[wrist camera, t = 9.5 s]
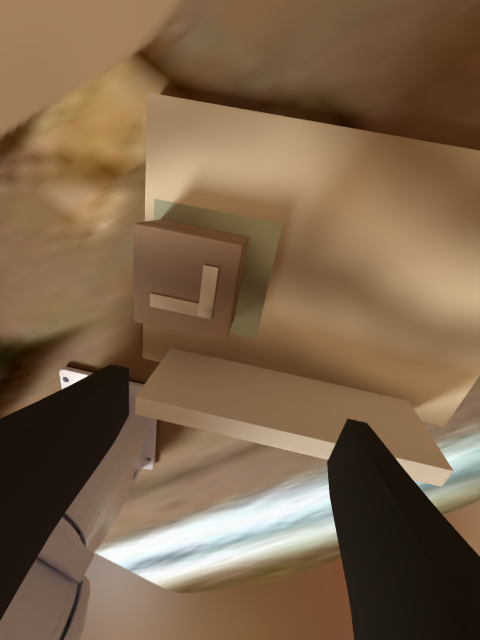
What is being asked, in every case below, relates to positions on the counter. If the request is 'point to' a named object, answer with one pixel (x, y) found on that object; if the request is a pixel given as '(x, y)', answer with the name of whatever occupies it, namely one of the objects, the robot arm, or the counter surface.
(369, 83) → the counter surface
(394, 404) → the beige rectangular slab
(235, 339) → the birch board
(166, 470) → the counter surface
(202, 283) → the walnut block
